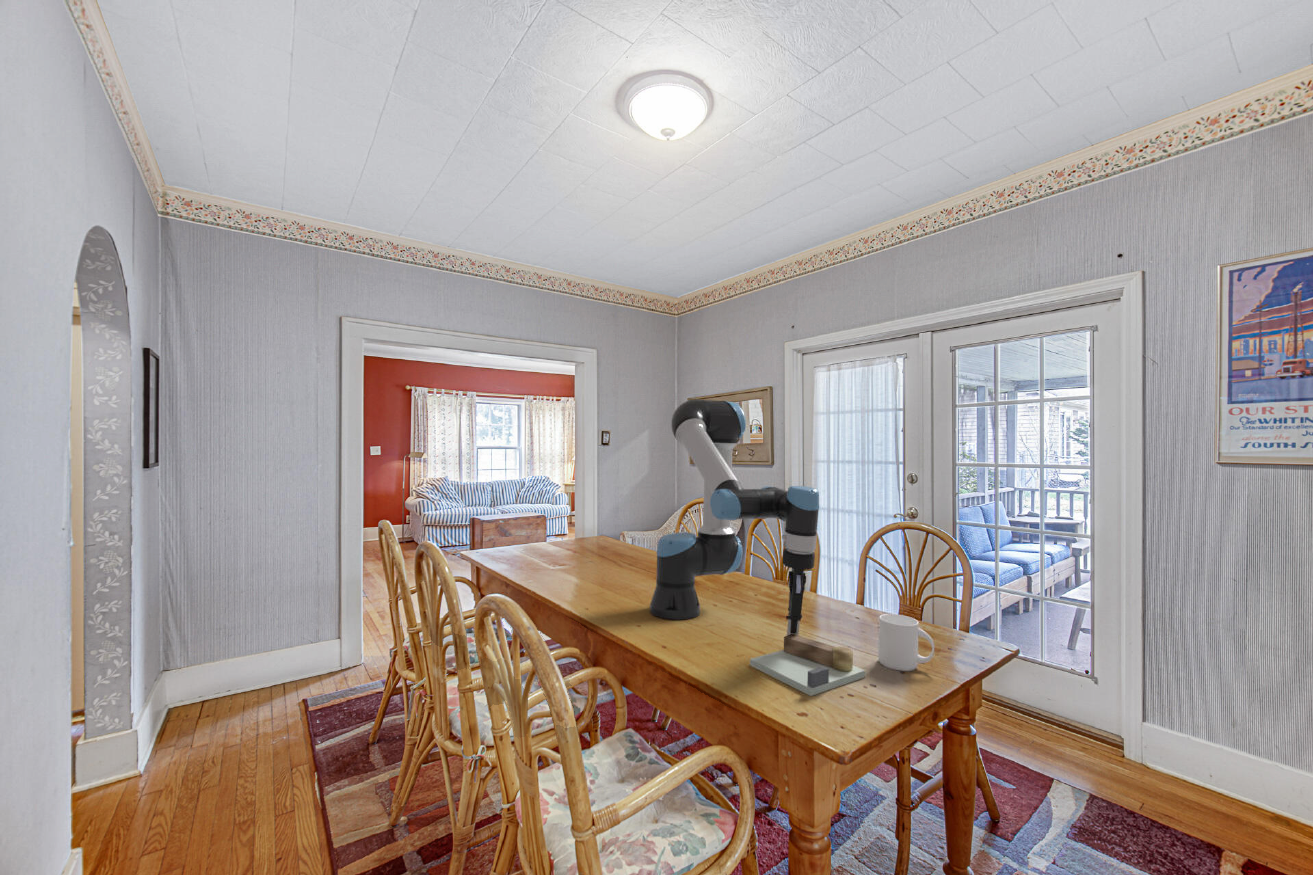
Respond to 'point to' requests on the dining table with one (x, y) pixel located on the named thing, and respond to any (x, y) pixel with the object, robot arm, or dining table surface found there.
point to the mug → (900, 642)
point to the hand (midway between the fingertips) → (792, 644)
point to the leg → (819, 652)
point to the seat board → (802, 671)
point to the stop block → (818, 677)
